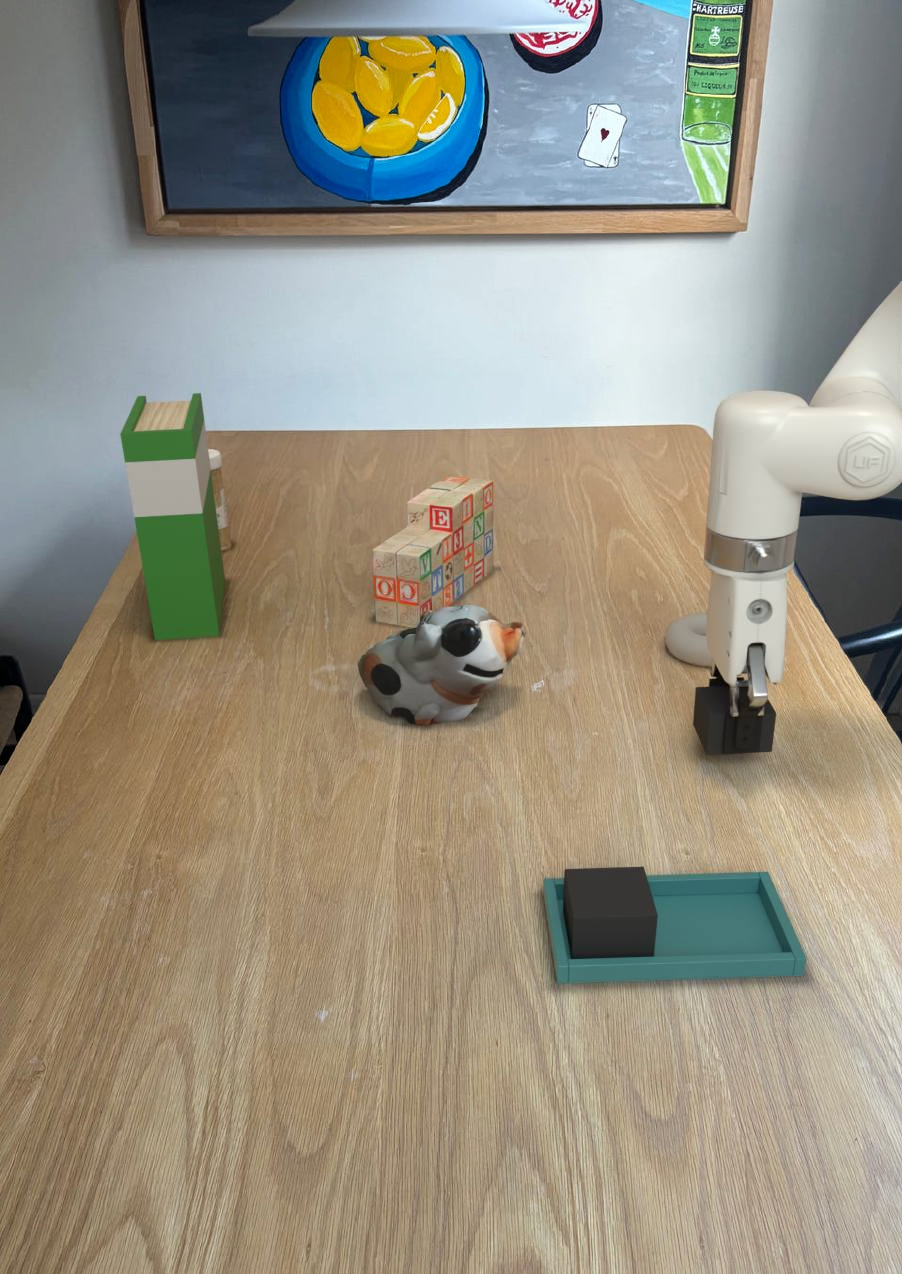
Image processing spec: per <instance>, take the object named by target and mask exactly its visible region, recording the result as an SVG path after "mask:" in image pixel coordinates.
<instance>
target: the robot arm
mask: <svg viewBox="0 0 902 1274" xmlns="http://www.w3.org/2000/svg"><path fill="white" fill-rule="evenodd" d="M830 369H831V370H830V371H829V372H828V374H827V375H826V376H825V378H824V379H823V381H822V382H821V384H820V385H819V387H818V388H817V390H816V391H815V393H814V395H813V396H812V399H811V400H810V402H809V405H808V403H807V401H805V400H804V399H803V398H802V397H801V396H799V395H796V394H793V393H790V392H785V391H777V390H749V391H742V392H741V391H740V392H737V393H735V394H732V395H728V396H727V397H725V398H724V399H723V400H722V401H721V402H720V404H719V405H718V406H717V408H716V411H715V414H714V420H713V429H712V442H711V456H710V470H709V471H710V473H709V485H708V486H709V487H708V496H707V497H708V498H707V509H706V521H705V523H706V524H705V535H704V536H705V537H704V549H703V560H702V562H703V565H704V567H705V568H706V569H708V570H709V571H711V572H710V573H711V575H710V584H709V590H708V591H709V592H708V601H707V612H706V613H707V625H706V641H707V646H708V649H709V652H710V654H711V656H712V661H711V666H710V667H709V675H710V678H709V679H708V687H709V686H729V685H730V712H726V716H725V727H724V738H723V750H724V752H725V753H726V754H725V755H737V754H736V753H741V754H755V752H757V751H758V750H759V747H760V738H761V729H762V720H763V715H764V705H765V703H766V701H767V700H769V691H768V682H767V679H768V681H769V683H770V684H773V685H779V684H780V683H781V682H782V681H783V679H784V669H785V658H786V657H785V655H786V640H787V628H788V627H787V626H788V577H787V573H789V572H790V571H792V570H793V568H794V567H795V557H796V549H797V540H798V532H799V522H800V514H801V506H802V497H803V494H804V493H805V494H811V495H816V496H822V497H827V498H833V499H838V500H846V501H868V500H873V499H877V498H880V497H882V496H884V495H887V494H888V493H890V492H892V491H893V490H895V489H896V488H897V487H899V486H900V484H902V280H901V281H900V282H899V283H898V284H897V286H896V287H895V288H894V289H893V290H892V291H891V292H890V293H889V294H888V295H887V296H886V298H884V299H883V301H882V302H881V303H880V304H879V306H878V307H877V308H876V309H875V310H874V311H873V313H872V314H871V315H870V316H869V317H868V319H866V321H865V323H864V324H862V326H861V328H860V329H859V330H858V332H857V333H856V335H855V336H854V337H853V339H852V340H851V341H850V343H849V344H848V346H847V347H846V348H845V349H844V351H843V353H842V354H841V355H840V357H839V358H838V360H837V361H836V362H835V364H834V365H833V367H832V368H830ZM742 675H747V679H745V677H744V676H742ZM748 687H749V691H748V693H747V696H743V697H742V698H741V699H740V701H739V688H748Z"/></svg>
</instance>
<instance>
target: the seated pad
mask: <svg viewBox="0 0 902 1274" xmlns="http://www.w3.org/2000/svg"><path fill="white" fill-rule="evenodd" d="M563 875H564V876H563V878H564V894H563V914H564V920H565V926H566V931H567V937H568V943H569V949H570V954H571V959H595V958H627V957H654V950H655V940H656V929H657V919H658V914H657V911H656V907H655V904H654V900H653V897H652V893H651V890H650V886H649V883H648V880H647V876H646V875H647V873H646V870H645V867H644V866H617V867H586V868H564V873H563Z"/></svg>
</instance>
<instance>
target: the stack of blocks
mask: <svg viewBox="0 0 902 1274" xmlns="http://www.w3.org/2000/svg"><path fill="white" fill-rule="evenodd" d="M406 503H407V504H406V509H407V510H406V511H407V513H406V515H407V516H406V517H407V526H406V527H405V528H403V529H402V530H401V531H398V533H396V534H393V535H392V536H391V537H389V538H388V539H386V540H385V541H384V542H382V543H381V544H379V545H377V546H376V547H375V548H373V549H372V562H373V575H372V581H373V583H372V585H373V597H374V611H375V622H379V623H382V624H389V625H396V626H400V627H405V628H410V629H412V628H416V627H417V625H418V624H419V622H420V616H421V615H422V613H424V612H425V611H427V610H432V611H433V612H434V611H436V610H437V609H440V608H442V607H450V606H451V605H452V604H453V603H454V602H455V601H457V599H459V598H460V597H461V596H463V594H465V593H466V592H467V591H469V590H470V589H471V588H472V587H474V586H476V584H477V583H479V582H480V581H481V580H482V579H483V578H486V577H487V576H488V575H489V574H490V573H491V572H493V571H494V526H495V525H494V517H495V515H494V514H495V513H494V510H495V509H494V480H490V479H482V478H475V477H474V478H473V477H472V478H470V477H465V476H464V477H463V476H456V475H455V476H453V475H448V476H447V477H445V478H444V479H442V480H438V481H436V482H435V483H433V484H431V485H430V486H429V488H425V490H423V491H420V493H418V495H416V496H414V497H413V498H411V499H410V500H408V501H407V502H406Z"/></svg>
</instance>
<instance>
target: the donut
mask: <svg viewBox="0 0 902 1274" xmlns="http://www.w3.org/2000/svg"><path fill="white" fill-rule="evenodd" d="M706 625H707V612H696V613H691V614H690V613H689V614H686V615H683V616H681V617H679V618H677V619H676V620H674V621H673V622H671V623H670V624H669V626H668V627H667V629H666V633H665V637H664V643H665V645H666V648H667V650H668V652H669V653H670V654H671V655H672V656H673V657H674V658H676V659H678V660H679V661H682V662H684V663H686V664H689V665H695V666H698V667H704V668H705V667H706V668H710V666H711V661H712V656H711V654H710V652H709V649H708V646H707V641H706Z"/></svg>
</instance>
